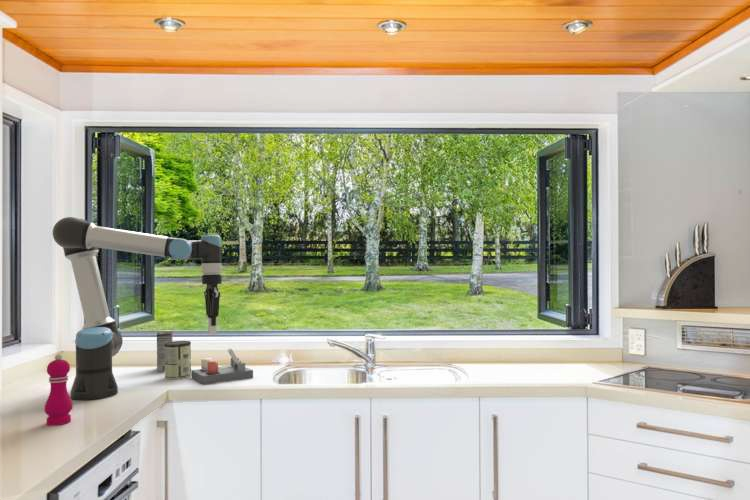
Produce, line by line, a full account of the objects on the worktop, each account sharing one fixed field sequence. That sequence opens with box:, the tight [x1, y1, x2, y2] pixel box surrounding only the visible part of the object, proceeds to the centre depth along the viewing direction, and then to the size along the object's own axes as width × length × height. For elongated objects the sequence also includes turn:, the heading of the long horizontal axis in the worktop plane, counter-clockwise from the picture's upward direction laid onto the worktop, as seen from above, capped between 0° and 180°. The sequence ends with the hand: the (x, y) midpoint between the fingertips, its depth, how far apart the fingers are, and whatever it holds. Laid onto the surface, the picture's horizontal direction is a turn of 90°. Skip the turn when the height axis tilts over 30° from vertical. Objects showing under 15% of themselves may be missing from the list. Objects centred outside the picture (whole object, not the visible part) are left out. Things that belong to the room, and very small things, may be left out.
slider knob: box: [230, 357, 240, 366], centre depth 240 cm, size 2×3×3 cm
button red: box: [208, 360, 219, 375], centre depth 227 cm, size 4×4×5 cm
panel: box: [190, 360, 254, 385], centre depth 233 cm, size 20×16×6 cm
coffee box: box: [156, 331, 174, 373], centre depth 253 cm, size 9×6×16 cm
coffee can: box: [164, 340, 192, 380], centre depth 236 cm, size 10×10×14 cm
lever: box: [226, 348, 240, 367], centre depth 232 cm, size 2×3×9 cm, turn 35°
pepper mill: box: [44, 353, 73, 426], centre depth 170 cm, size 7×7×20 cm
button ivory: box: [200, 357, 213, 372], centre depth 233 cm, size 4×4×5 cm
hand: (212, 334), depth 227 cm, fingers closed
